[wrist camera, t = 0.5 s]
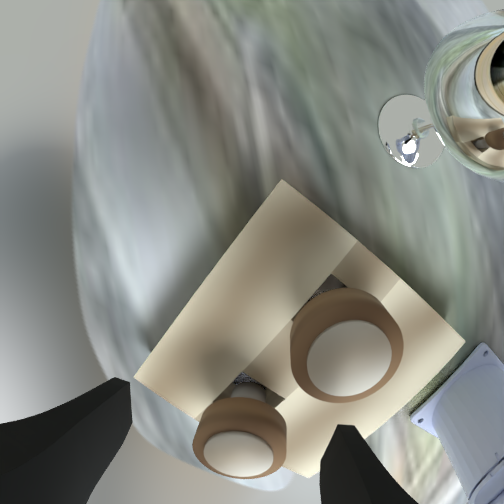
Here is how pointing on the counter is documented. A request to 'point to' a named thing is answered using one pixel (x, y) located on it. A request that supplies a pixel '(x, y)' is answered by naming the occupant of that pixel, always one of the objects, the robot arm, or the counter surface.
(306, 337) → the knob
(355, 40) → the counter surface
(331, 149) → the counter surface
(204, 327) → the knob panel
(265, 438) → the knob
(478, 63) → the wineglass
